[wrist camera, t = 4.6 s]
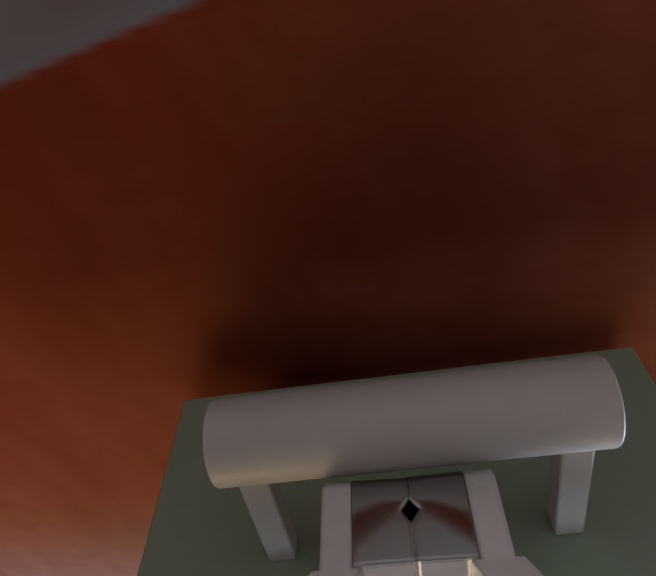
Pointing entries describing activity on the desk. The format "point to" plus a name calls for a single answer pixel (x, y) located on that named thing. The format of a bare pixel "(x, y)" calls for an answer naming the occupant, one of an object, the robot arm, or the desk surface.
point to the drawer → (419, 463)
